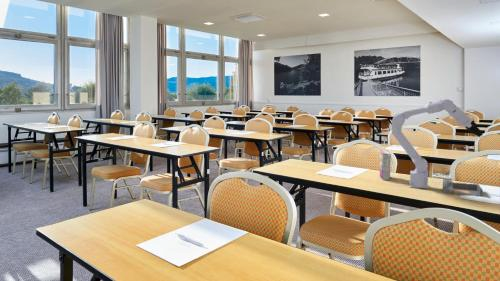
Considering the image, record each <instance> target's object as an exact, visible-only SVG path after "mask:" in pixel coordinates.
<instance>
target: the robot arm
mask: <svg viewBox="0 0 500 281" xmlns="http://www.w3.org/2000/svg"><path fill="white" fill-rule="evenodd" d="M442 111H445V112H447V113H448V114H449V116H451V118H453V119H454V120H455V121H456V122H457V123H458V124H460V126H461V127H462V128H465V131H467V132H469V133H471V134H473V135H475V136H476V137H478V138H481V137H482V136H483V135H484V134H483V132H482V131H481V130H480V128H479V127H478V126H477V122H475V120H473V119H475V117H474V116H471V117H470V116H469V115H468V114H466V112H464V111H463V109H461V108H460V107H459V106H458V105H456V104H455V103H454V102H453V100H451V99H449V98H446V99H445V98H444V99H439V100H438V101H433V102H432V101H429V102H428V103H426V104H425V106H423V107H422V106H421V107H417V108H412V109H408V110H404V111H402V112H400V113H396V114H395V115H394V116H393V117H392V119H391V134H392V135H393V136H394V138H395V139H396V141H397V142H398V144H400V146H401V148H402V149H403V150H404V151H405V152H406V154H407V155H408V156H409V158H410V159H411V161H412V162H413V164H414V166H415V169H414V170H410V172H409V173H410V175H409V180H408V182H409V183H408V184H409V187H410V188H413V189H414V188H415V189H426V190H427V189H429V188H430V187H429V181H428V180H429V170H428V169H429V165H428V161H427V160H426V159H425V158H424V157H422V155H420V154H419V152H418V151H417V150H416V148H414V146H413V145H412V143H411V142H410V141H409V139H408V138H407V137H406V136H405V134H404V133H403V131H402V128H403V125H404V124H405V121H406V120H408V119H409V118H411V117H413V116H416V115H420V114H425V113H427V114H429V115H430V114H435V113H441V112H442Z"/></svg>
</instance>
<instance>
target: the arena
mask: <svg viewBox="0 0 500 281" xmlns="http://www.w3.org/2000/svg"><path fill="white" fill-rule="evenodd" d="M452 191H453V192H452V194H453V195H459V194H463V195H462V196H471V195H476V196H475V197H483V191H484V190H483V188H482V187H481V186H480V185H479V183H478V184H477V183H464V182H453V189H452Z"/></svg>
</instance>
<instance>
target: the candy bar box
mask: <svg viewBox="0 0 500 281" xmlns="http://www.w3.org/2000/svg"><path fill="white" fill-rule="evenodd" d="M391 155H392V154H391V153H390V152H389V151H388V150H380V152H379V178H380V179H381V178H382V179H383V180H382V179H381V180H382V181H391V161H392V160H391V157H392V156H391Z"/></svg>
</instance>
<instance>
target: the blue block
mask: <svg viewBox="0 0 500 281" xmlns="http://www.w3.org/2000/svg"><path fill="white" fill-rule="evenodd" d="M453 183H454V181H453V180H452V178H451V179H450V178H443V179H442V192H443V193H444V194H453V192H452V189H453Z"/></svg>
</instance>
